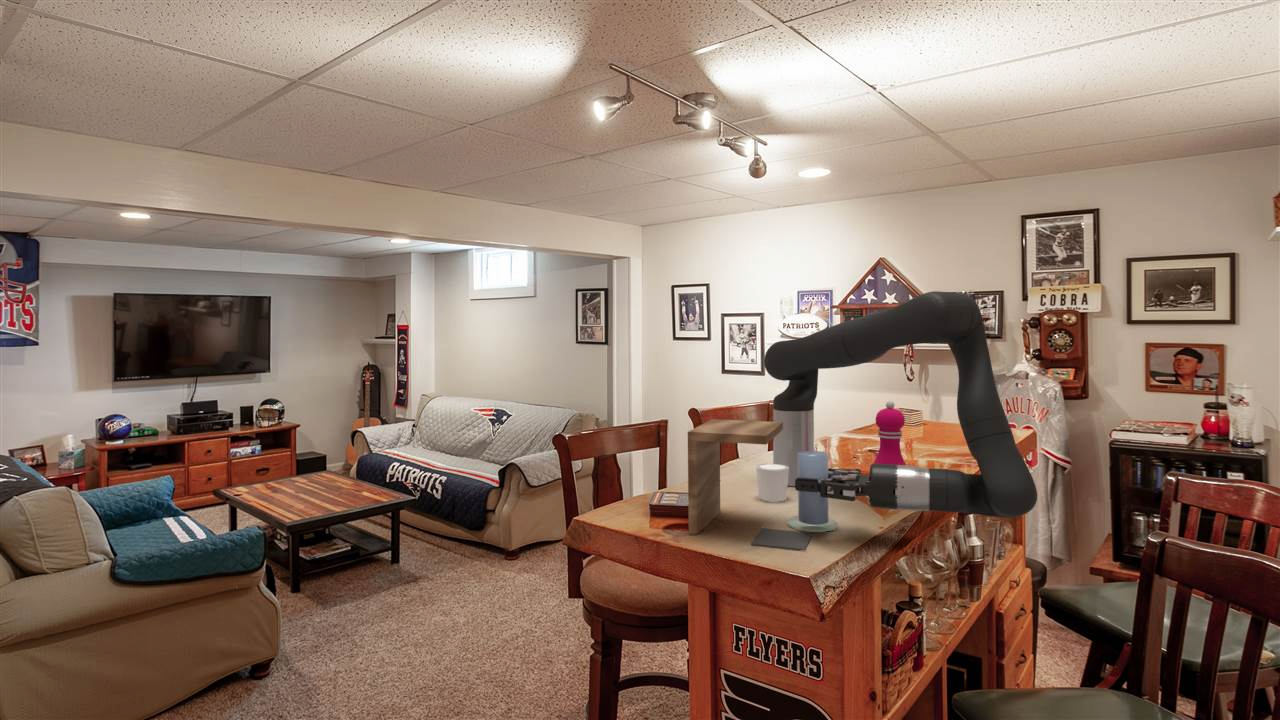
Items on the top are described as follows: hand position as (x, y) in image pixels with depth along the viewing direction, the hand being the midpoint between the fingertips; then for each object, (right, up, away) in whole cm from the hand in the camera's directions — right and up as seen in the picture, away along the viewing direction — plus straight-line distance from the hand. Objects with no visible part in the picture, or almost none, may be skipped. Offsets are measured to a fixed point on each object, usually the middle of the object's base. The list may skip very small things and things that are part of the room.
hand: (798, 480), depth 119 cm
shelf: (-10, -9, +5) cm, 15 cm away
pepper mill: (+27, -8, +27) cm, 39 cm away
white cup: (0, -8, +23) cm, 24 cm away
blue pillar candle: (+2, -7, -1) cm, 7 cm away
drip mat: (-4, -10, -4) cm, 11 cm away
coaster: (+3, -9, +4) cm, 11 cm away
